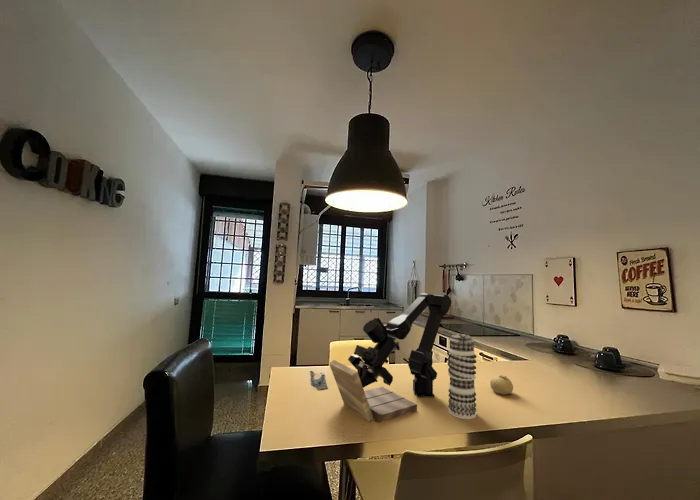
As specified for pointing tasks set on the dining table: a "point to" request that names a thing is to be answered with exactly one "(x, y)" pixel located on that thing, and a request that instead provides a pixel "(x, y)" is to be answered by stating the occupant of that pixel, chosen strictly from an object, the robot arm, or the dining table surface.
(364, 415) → the plank
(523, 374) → the dining table surface
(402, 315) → the robot arm
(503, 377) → the onion
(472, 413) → the white patterned tower
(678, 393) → the dining table surface
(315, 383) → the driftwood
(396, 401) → the wooden panel
